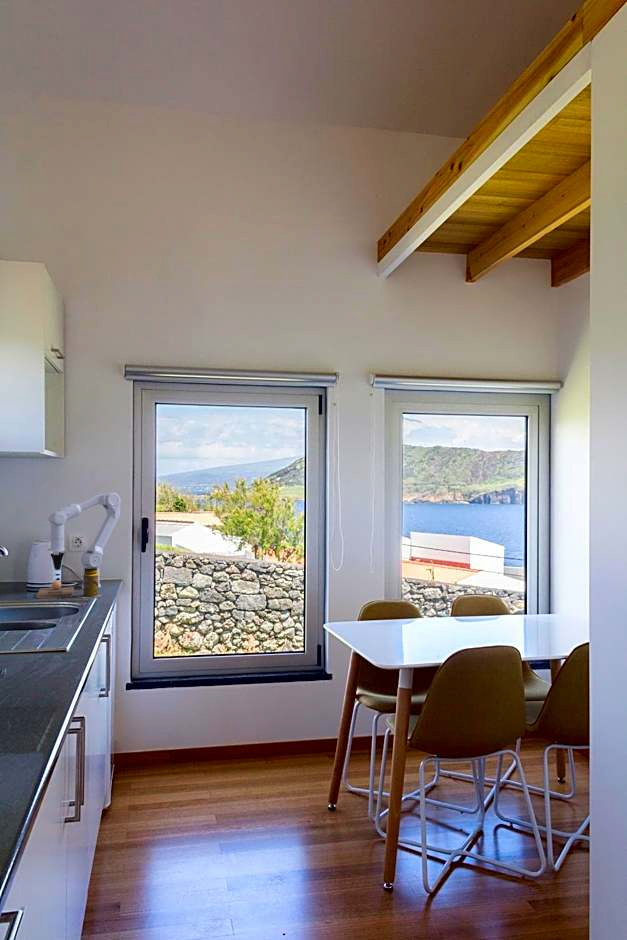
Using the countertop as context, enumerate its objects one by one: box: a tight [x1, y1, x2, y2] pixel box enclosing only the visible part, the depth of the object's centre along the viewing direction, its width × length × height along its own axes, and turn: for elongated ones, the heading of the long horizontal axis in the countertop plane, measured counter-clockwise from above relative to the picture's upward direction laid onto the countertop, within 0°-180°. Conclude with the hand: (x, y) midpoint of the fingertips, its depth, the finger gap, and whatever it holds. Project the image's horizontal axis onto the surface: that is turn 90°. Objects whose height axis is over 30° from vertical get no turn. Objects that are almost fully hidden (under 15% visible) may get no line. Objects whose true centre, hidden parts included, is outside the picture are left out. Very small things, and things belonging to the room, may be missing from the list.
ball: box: [51, 579, 62, 590], centre depth 345 cm, size 4×4×4 cm
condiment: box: [76, 567, 102, 599], centre depth 337 cm, size 7×8×12 cm
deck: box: [35, 586, 75, 599], centre depth 341 cm, size 18×14×2 cm
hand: (57, 569), depth 351 cm, fingers closed
